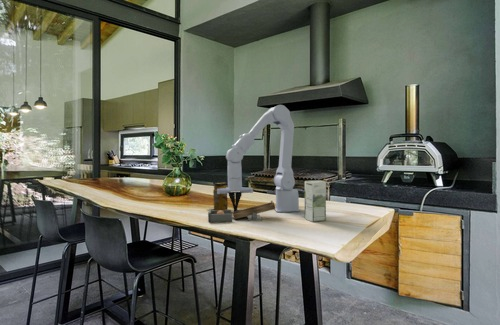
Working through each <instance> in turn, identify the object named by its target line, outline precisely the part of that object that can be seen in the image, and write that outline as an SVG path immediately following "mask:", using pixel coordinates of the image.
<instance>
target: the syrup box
mask: <svg viewBox="0 0 500 325" xmlns="http://www.w3.org/2000/svg"><path fill="white" fill-rule="evenodd" d="M326 206H327V182H326V181H324V180H320V179H317V180H316V179H315V180H314V179H313V180H305V181H304V220H306V219H307V221H309V222H312V223H315V222H323V221H326V220H327V217H326V216H327V210H326V208H327V207H326Z"/></svg>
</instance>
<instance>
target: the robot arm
mask: <svg viewBox="0 0 500 325" xmlns="http://www.w3.org/2000/svg"><path fill="white" fill-rule="evenodd" d="M272 123H273V124H275V125H276V126H277V127H278V128H279V129H280V130H281V132H280V141H279V142H280V145H279V156H278V158H279V159H278V167H277V168H276V171H275V172H276V173H275V175H274V177H273V183H274V185H275V186H276V187H275V209H274V210H275V212H277V213H288V212H289V213H290V212H292V213H293V212H300V210H299V209H300V207H299V205H300V204H299V201H300V200H299V198H300V197H299V191H298V189H294V187H295V184H296V181H295V177H294V171H293V168H292V160H293V159H292V158H293V148H294V137H295V136H294V135H295V134H294V133H295V124H294V122H293V119H292V117H291V111H290V110H289V109H288V108H287V107H286V106H285V105H283V104H277V105H276V106H274V107H270V108H268V110H267V111H266V112H264V113H263V114H262V116H261V117H260V118H259V119H258V120H257V122H256V123H255V124H254V125H253V127H252V128H251V129H250V131H248V133H243V134H240V135H239V137H238V138H239V139H237V141H236V142H235V143H233V144H231V147H232V148H230V149H228V150H227V151H226V155H225V159H226V161H227V169H226V170H227V187H226V188H221V189H217V194H225V193H227V194H228V197H229V199H230V201H231V204H232V207H233V211H237V210H238V207H239V203H240V200H241V198H242V196H243V194H249V193H250V194H254V188H253V187H243V180H242V175H243V173H242V172H243V171H242V168H243V167H242V161H243V158H244V155H245V154H246V153H247V152H248V151H249V150H250V149H251V147H252V146H253V144H255V138H256V137H257V135H259V134H260V133H261V132H262V130H263V129H264V128H266V126H267V125H269V124H272Z"/></svg>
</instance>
